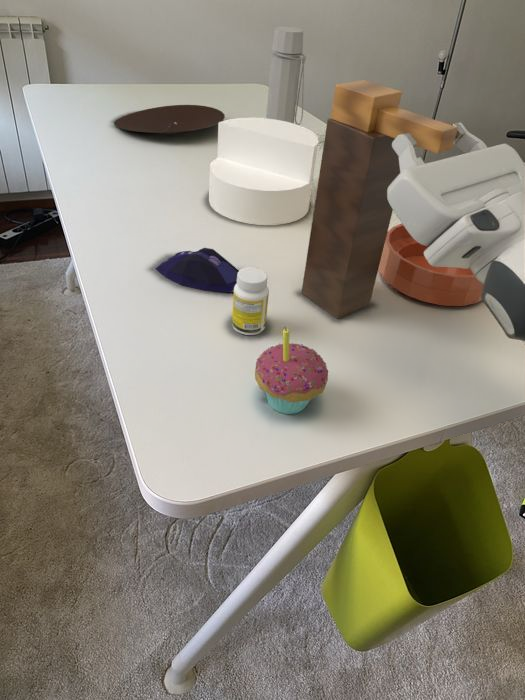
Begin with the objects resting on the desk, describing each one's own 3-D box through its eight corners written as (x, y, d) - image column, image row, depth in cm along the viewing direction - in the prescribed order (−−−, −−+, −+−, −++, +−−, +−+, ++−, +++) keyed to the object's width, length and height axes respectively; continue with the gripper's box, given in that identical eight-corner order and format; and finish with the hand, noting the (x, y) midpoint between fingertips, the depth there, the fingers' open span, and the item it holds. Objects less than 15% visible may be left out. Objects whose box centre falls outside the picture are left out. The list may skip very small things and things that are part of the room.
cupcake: (285, 436, 62) (298, 354, 54) (237, 394, 66) (243, 313, 59) (336, 404, 66) (355, 324, 59) (288, 367, 71) (300, 288, 63)
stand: (369, 305, 84) (412, 130, 68) (337, 319, 80) (374, 138, 64) (333, 281, 89) (365, 112, 72) (301, 293, 85) (327, 118, 69)
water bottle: (259, 143, 137) (268, 29, 122) (268, 134, 143) (278, 24, 128) (295, 150, 136) (308, 35, 120) (302, 140, 142) (316, 30, 126)
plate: (152, 104, 155) (151, 90, 153) (242, 124, 148) (242, 110, 146) (90, 129, 135) (89, 114, 133) (191, 154, 128) (191, 138, 125)
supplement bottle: (246, 312, 80) (250, 261, 75) (272, 326, 78) (278, 274, 72) (224, 325, 77) (227, 274, 72) (250, 340, 75) (254, 288, 69)
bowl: (483, 263, 98) (494, 232, 94) (493, 319, 84) (507, 286, 80) (380, 244, 100) (388, 214, 96) (374, 297, 86) (383, 263, 82)
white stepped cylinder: (189, 206, 106) (189, 135, 98) (240, 175, 120) (244, 111, 112) (281, 235, 100) (290, 162, 91) (324, 199, 114) (334, 133, 106)
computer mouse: (179, 249, 92) (179, 227, 90) (258, 274, 88) (260, 252, 86) (147, 273, 86) (146, 250, 83) (231, 302, 81) (233, 279, 79)
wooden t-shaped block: (457, 147, 64) (468, 111, 61) (431, 156, 61) (441, 118, 58) (357, 112, 72) (363, 79, 69) (330, 118, 69) (335, 84, 66)
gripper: (567, 193, 63) (497, 101, 65) (461, 234, 52) (383, 121, 54) (524, 226, 68) (461, 139, 70) (420, 270, 57) (350, 165, 60)
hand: (426, 132), depth 62 cm, fingers open, 8 cm apart
